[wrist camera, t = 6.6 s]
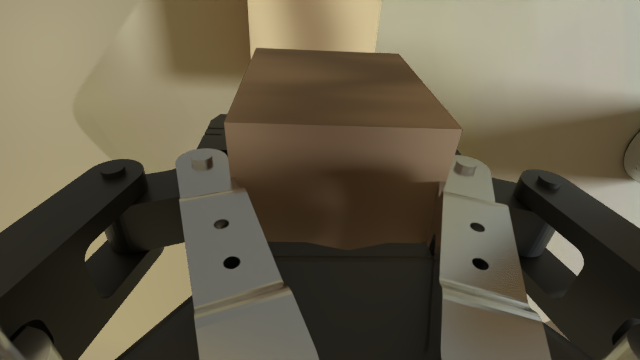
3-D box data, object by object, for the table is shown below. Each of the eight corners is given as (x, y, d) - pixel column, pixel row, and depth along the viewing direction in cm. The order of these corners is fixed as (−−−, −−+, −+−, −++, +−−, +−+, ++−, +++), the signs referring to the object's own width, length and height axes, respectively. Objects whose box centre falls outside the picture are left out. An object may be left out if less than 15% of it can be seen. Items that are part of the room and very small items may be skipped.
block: (398, 53, 12) (462, 129, 7) (378, 171, 15) (414, 284, 10) (256, 47, 12) (224, 122, 7) (262, 169, 15) (242, 284, 10)
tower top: (372, -21, 24) (383, -14, 21) (359, 92, 28) (366, 113, 25) (254, -27, 23) (246, -22, 20) (259, 89, 28) (253, 109, 25)
